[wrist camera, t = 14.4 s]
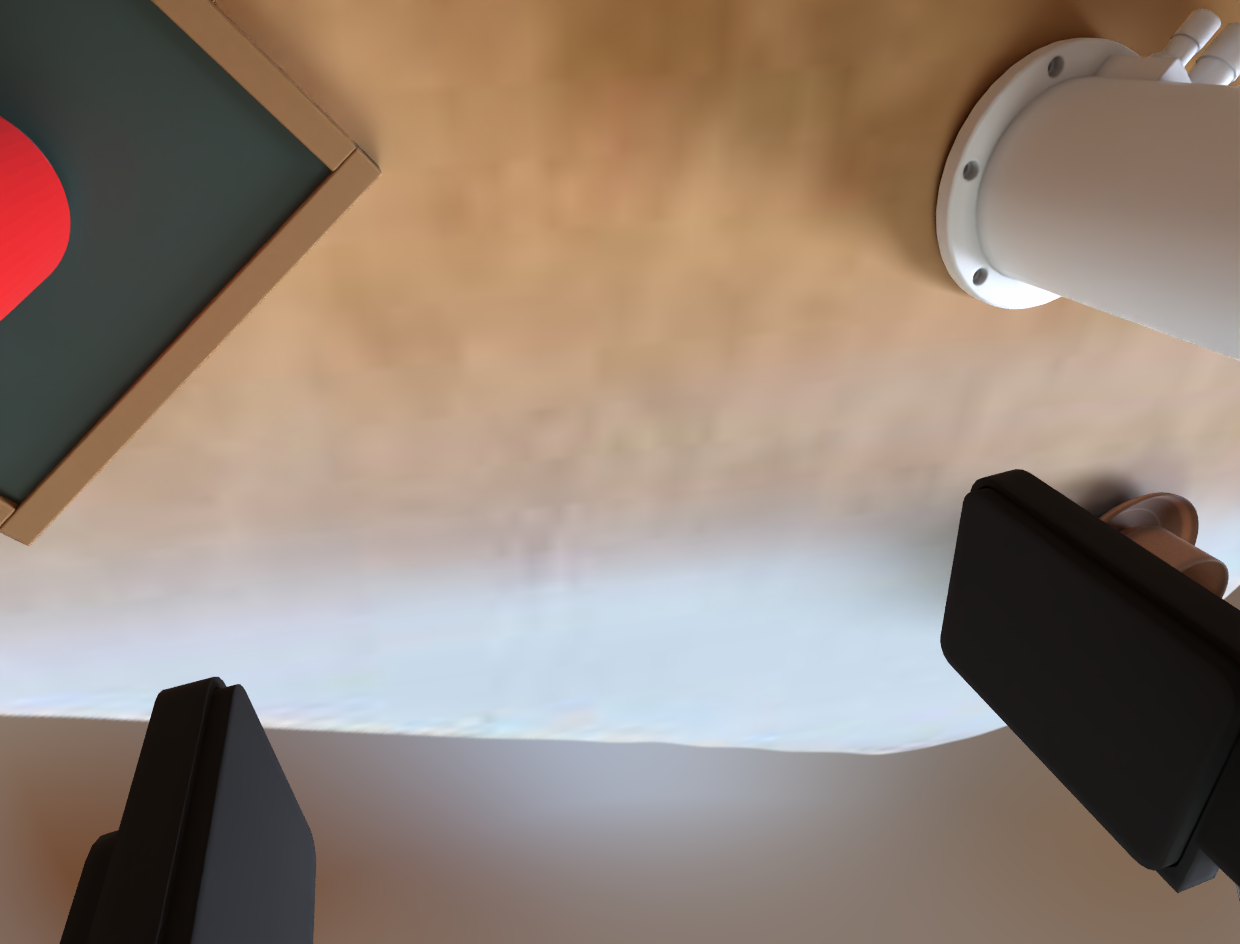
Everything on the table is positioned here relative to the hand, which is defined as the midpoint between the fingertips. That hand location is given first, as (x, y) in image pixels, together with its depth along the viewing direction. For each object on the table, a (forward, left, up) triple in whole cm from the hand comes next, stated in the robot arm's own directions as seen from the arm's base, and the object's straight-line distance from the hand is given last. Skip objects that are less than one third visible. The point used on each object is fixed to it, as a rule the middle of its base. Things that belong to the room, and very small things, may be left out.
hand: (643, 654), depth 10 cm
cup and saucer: (-9, +51, -26) cm, 58 cm away
